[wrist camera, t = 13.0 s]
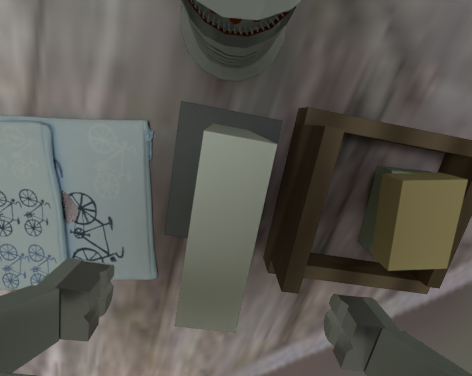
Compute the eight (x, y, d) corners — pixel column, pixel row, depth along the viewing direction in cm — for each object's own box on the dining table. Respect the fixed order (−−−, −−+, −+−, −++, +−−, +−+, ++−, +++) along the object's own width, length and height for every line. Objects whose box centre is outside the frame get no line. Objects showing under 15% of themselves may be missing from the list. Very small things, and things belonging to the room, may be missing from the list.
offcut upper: (440, 172, 26) (467, 179, 23) (424, 253, 28) (447, 268, 26) (382, 173, 26) (403, 180, 23) (370, 255, 28) (387, 270, 25)
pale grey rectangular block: (248, 129, 26) (277, 144, 12) (228, 230, 29) (235, 332, 15) (213, 123, 25) (204, 130, 12) (197, 226, 28) (174, 326, 15)
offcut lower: (426, 170, 29) (448, 176, 26) (403, 243, 31) (421, 256, 29) (375, 165, 29) (392, 170, 26) (356, 239, 31) (370, 252, 28)
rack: (463, 141, 28) (556, 150, 20) (408, 278, 32) (467, 328, 24) (298, 108, 26) (331, 104, 18) (263, 257, 30) (277, 306, 23)
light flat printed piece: (-57, 110, 25) (-82, 110, 23) (157, 119, 26) (151, 120, 24) (-15, 283, 30) (-33, 295, 28) (163, 283, 31) (159, 295, 29)
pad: (281, 120, 26) (282, 120, 26) (253, 244, 30) (254, 247, 29) (182, 101, 25) (181, 101, 25) (165, 231, 29) (164, 234, 28)
